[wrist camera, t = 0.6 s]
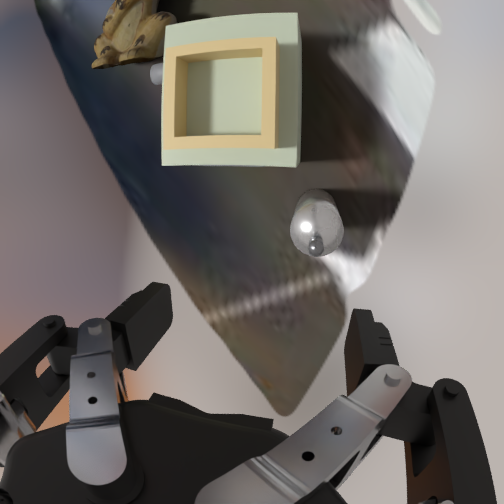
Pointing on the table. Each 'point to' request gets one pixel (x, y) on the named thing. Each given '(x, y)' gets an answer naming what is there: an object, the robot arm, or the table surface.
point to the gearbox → (232, 91)
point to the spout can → (316, 224)
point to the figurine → (132, 33)
